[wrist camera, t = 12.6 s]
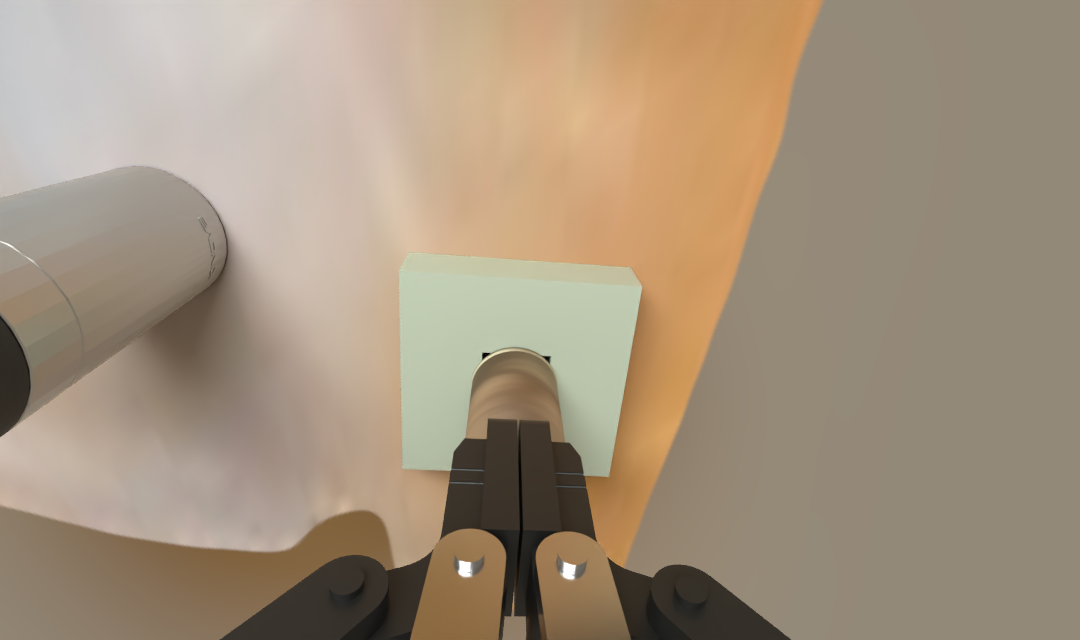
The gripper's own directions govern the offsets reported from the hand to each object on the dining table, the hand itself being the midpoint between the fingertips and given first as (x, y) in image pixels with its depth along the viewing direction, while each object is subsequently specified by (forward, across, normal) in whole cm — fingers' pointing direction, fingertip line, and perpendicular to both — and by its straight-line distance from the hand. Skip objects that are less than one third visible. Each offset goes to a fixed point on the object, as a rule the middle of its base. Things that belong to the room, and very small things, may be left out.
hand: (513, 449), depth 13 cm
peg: (+26, -1, +12) cm, 29 cm away
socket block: (+27, -1, +12) cm, 30 cm away
